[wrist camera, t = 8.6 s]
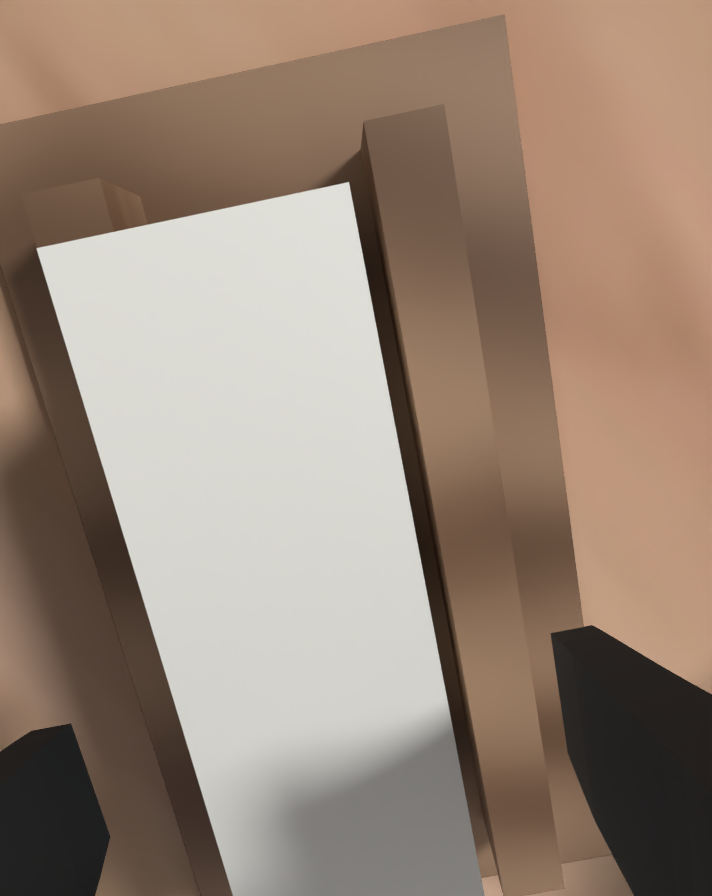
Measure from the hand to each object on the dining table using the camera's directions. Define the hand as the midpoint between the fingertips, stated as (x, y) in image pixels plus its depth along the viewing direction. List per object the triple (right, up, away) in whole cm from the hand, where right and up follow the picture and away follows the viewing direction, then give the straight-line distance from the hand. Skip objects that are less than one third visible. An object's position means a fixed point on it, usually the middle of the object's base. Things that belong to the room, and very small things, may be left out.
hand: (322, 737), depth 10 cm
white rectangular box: (0, +2, +7) cm, 7 cm away
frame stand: (0, +2, +7) cm, 8 cm away
